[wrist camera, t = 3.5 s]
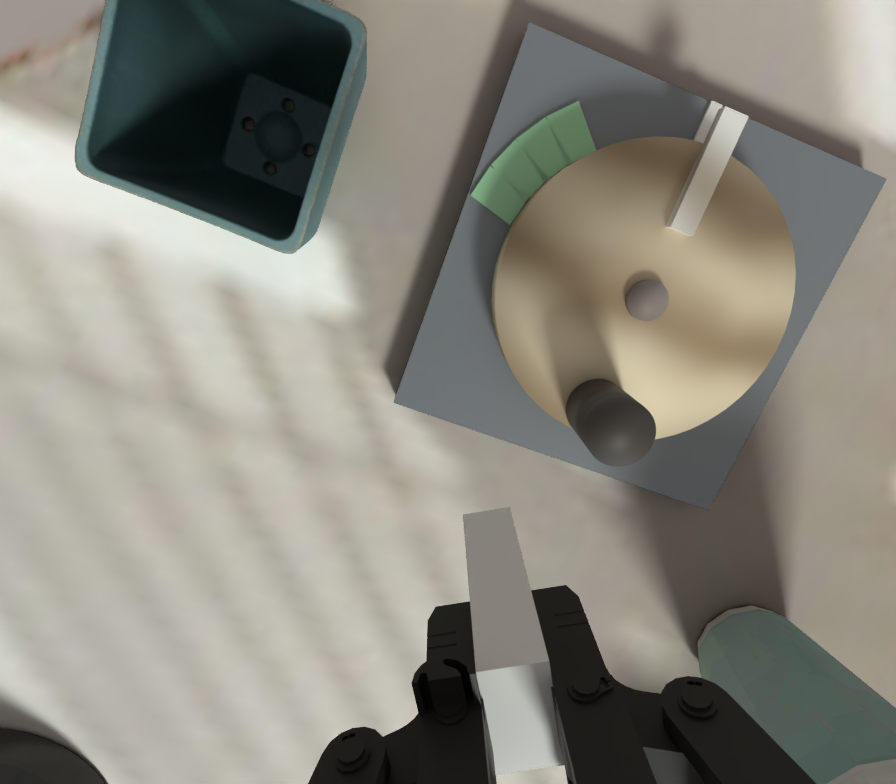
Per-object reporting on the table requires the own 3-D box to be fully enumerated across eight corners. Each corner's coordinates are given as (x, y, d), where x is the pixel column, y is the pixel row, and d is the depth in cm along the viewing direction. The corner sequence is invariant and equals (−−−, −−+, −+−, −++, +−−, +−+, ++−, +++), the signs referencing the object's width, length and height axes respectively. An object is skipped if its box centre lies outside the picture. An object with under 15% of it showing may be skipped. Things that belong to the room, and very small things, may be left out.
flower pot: (335, 253, 30) (296, 259, 22) (176, 191, 29) (67, 170, 20) (390, 88, 28) (370, 21, 19) (221, 14, 27) (120, -92, 18)
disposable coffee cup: (833, 581, 36) (1096, 804, 22) (798, 712, 39) (1010, 986, 25) (676, 576, 36) (838, 801, 22) (652, 709, 39) (782, 986, 24)
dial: (570, 63, 26) (609, 12, 21) (839, 179, 28) (944, 163, 22) (450, 379, 30) (454, 412, 24) (691, 464, 32) (748, 514, 26)
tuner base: (395, 395, 32) (393, 403, 31) (524, 33, 28) (530, 20, 26) (696, 499, 35) (709, 512, 33) (864, 181, 30) (889, 178, 28)
